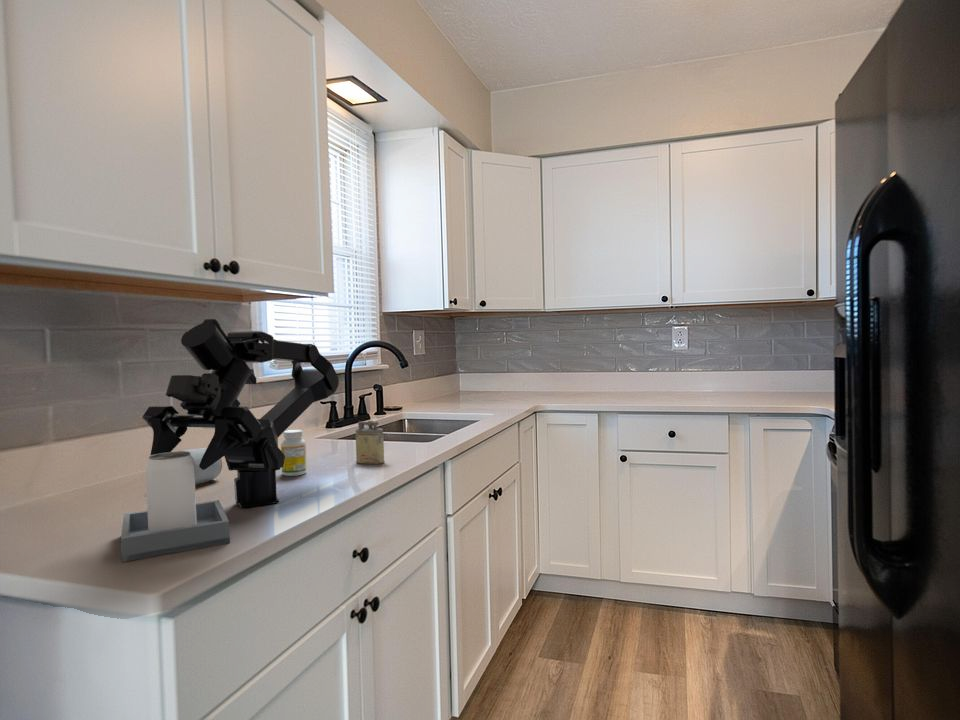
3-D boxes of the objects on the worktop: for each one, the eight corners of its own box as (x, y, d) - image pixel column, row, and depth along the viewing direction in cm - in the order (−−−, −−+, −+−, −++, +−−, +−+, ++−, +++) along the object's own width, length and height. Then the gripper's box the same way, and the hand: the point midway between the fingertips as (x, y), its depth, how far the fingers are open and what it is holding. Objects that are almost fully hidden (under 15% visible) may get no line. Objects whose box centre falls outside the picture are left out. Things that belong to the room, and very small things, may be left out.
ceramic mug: (226, 479, 126) (224, 444, 125) (195, 489, 118) (193, 451, 118) (188, 477, 129) (187, 443, 129) (156, 486, 122) (154, 450, 122)
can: (206, 527, 90) (203, 451, 90) (175, 542, 84) (171, 459, 84) (171, 525, 92) (168, 450, 91) (138, 539, 86) (134, 458, 85)
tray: (219, 518, 98) (218, 500, 97) (230, 542, 86) (229, 521, 86) (124, 534, 91) (123, 513, 91) (122, 562, 79) (120, 539, 79)
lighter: (386, 461, 141) (385, 420, 140) (380, 464, 137) (378, 422, 137) (360, 460, 143) (359, 420, 142) (352, 463, 139) (351, 422, 139)
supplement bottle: (301, 476, 127) (300, 432, 127) (277, 476, 128) (276, 433, 127) (310, 470, 133) (308, 429, 132) (287, 470, 133) (285, 429, 133)
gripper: (148, 357, 95) (91, 435, 85) (246, 355, 90) (198, 438, 80) (186, 399, 103) (138, 475, 93) (278, 399, 98) (238, 480, 88)
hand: (176, 467), depth 88 cm, fingers open, 9 cm apart
